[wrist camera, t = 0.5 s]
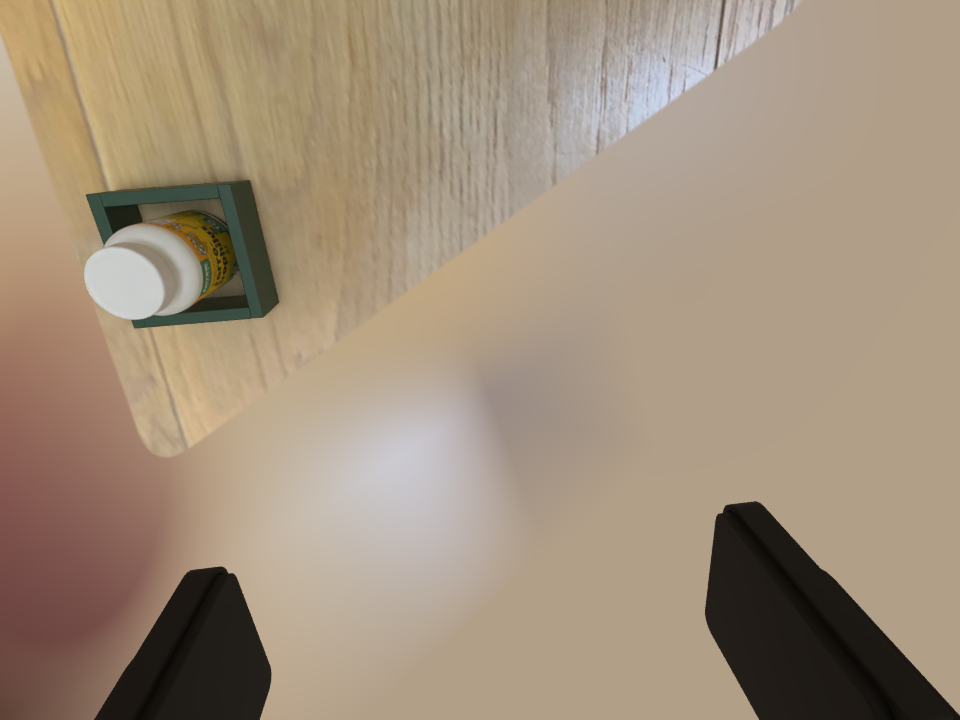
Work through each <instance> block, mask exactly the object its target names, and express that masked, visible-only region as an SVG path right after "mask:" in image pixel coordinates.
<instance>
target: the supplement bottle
mask: <svg viewBox="0 0 960 720" xmlns="http://www.w3.org/2000/svg"><path fill="white" fill-rule="evenodd" d="M238 268H239V267H238V263H237V260H236V256H235V252H234V248H233V244H232V241H231V237H230V233H229V229H228V227H227V226H226V225H225V224H224V223H223V222H221V221H220V220H219V219H217V218H216V217H214V216H212V215H210V214H208V213H205V212H201V211H183V212H179V213H175V214H172V215H168V216H164V217H160V218H157V219H153V220H149V221H146V222H142V223H138V224H134V225H131V226H128V227H125V228H122V229H120V230H119V231H117V232H116V233H114V234H113V235H112V236H111V237H110V238H109V239H108V241H107V242H106V244H105V246H104V248H102V249H100V250H98V251H97V252H95V253H94V254H93V255H92V256H91V257H90V258H89V259H88V261H87V263H86V265H85V269H84V280H85V284H86V287H87V290H88V292H89V294H90V295H91V297H92V298H93V299H94V301H95V302H96V303H97V304H98V305H99V306H100V307H102V308H103V309H104V310H106V311H107V312H109V313H111V314H113V315H115V316H117V317H120V318H124V319H130V320H139V319H144V318H147V317H150V316H152V315H158V316H165V315H172V314H176V313H179V312H181V311H183V310H185V309H187V308H189V307H190V306H192V305H193V304H195V303H196V302H198V301H199V300H201V299H202V298H204V297H206V296H207V295H209V294H210V293H212V292H213V291H215V290H216V289H218V288H219V287H221V286H222V285H224V284H225V283H227V282H228V281H229V280H230V279H232V277H233V276H234V275H235V274H236V272H237V270H238Z"/></svg>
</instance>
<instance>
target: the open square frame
mask: <svg viewBox="0 0 960 720" xmlns="http://www.w3.org/2000/svg"><path fill="white" fill-rule="evenodd" d="M86 197H87V200H88V202H89V205H90V208H91V211H92V213H93V216H94V219H95V222H96V224H97V227H98V230H99V233H100V235H101V238H102V241H103V244H104V246H105V244H106V242H107V241H108V239H109V238H110V237H111V236H112V235H113V234H114V233H116V232H117V231H119V230H120V229H122V228H125V227H128V226H131V225H134V224H138V223H142V220H141V217H140V214H139V211H138V207H137V205H138V204H151V203H164V202H177V201H190V200H203V199H216V198H220V199H221V203H222V206H223V210H224V214H225V218H226V222H227V225H228V229H229V233H230V237H231V241H232V244H233V248H234V252H235V256H236V260H237V263H238V267H239V271H240V275H241V278H242V282H243V286H244V290H245V294H246V295H243V296H231V297H219V298H207V299H201V300H199V301H198V302H196V303H195V304H193V305H192V306H190V307H189V308H187V309H185V310H183V311H181V312H179V313H176V314H172V315H165V316H158V315H152V316H150V317H147V318H144V319H139V320H132V323H133V326H134V328H146V327H158V326H170V325H181V324H193V323H205V322H216V321H228V320H239V319H251V318H262V317H264V316H265V315H266V314H267V313H269V312H270V311H271V310H272V309H273V308H274V307H275V306H276V305H277V304H278V303H279V301H278V297H277V292H276V288H275V284H274V280H273V276H272V271H271V267H270V263H269V259H268V255H267V250H266V246H265V242H264V238H263V234H262V229H261V225H260V221H259V217H258V213H257V208H256V204H255V200H254V196H253V192H252V187H251V183H250V180H245V181H232V182H219V183H206V184H193V185H180V186H167V187H154V188H140V189H127V190H117V191H109V192H101V193H94V194H87V195H86Z"/></svg>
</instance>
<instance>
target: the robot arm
mask: <svg viewBox="0 0 960 720" xmlns="http://www.w3.org/2000/svg"><path fill="white" fill-rule="evenodd" d="M705 616H706V621H707V625H708V628H709V630H710V632H711V634H712V636H713V638H714V639H715V641H716V643H717V645H718V647H719V648H720V650H721V652H722V654H723V656H724V657H725V659H726V661H727V663H728V665H729V666H730V668H731V670H732V672H733V673H734V675H735V677H736V679H737V681H738V682H739V684H740V686H741V688H742V689H743V691H744V693H745V695H746V697H747V699H748V700H749V702H750V704H751V706H752V707H753V709H754V711H755V713H756V715H757V717H758V718H759V720H960V715H959V714H958V713H957V712H956V711H955V710H954V709H953V708H952V707H951V706H950V705H949V703H948V702H947V701H946V700H945V699H944V698H943V697H942V696H941V695H940V694H939V693H938V691H937V690H936V689H935V688H934V687H933V686H932V685H931V684H930V683H929V682H928V681H927V679H926V678H925V677H924V676H923V675H922V674H921V673H920V672H919V671H918V670H917V669H916V667H915V666H914V665H913V664H912V663H911V662H910V661H909V660H908V659H907V658H906V657H905V655H904V654H903V653H902V652H901V651H900V650H899V649H898V648H897V647H896V646H895V645H894V643H893V642H892V641H891V640H890V639H889V638H888V637H887V636H886V635H885V634H884V633H883V631H882V630H881V629H880V628H879V627H878V626H877V625H876V624H875V623H874V622H873V621H872V620H871V618H870V617H869V616H868V615H867V614H866V613H865V612H864V611H863V610H862V609H861V608H860V606H858V604H857V603H856V602H855V601H854V600H853V599H852V598H851V597H850V596H849V594H848V593H847V592H846V591H845V590H844V589H843V588H842V587H841V586H840V585H839V584H838V582H837V581H836V580H835V579H834V578H833V577H832V576H830V575H829V574H828V573H827V572H826V571H824V570H822V569H820V568H819V566H818V565H816V563H815V562H814V561H813V560H812V559H811V558H810V557H809V556H808V554H807V553H806V552H805V551H804V550H803V549H802V548H801V547H800V545H799V544H798V543H797V542H796V541H795V540H794V539H793V538H792V537H791V536H790V534H789V533H788V532H787V531H786V530H785V529H784V528H783V527H782V526H781V525H780V523H779V522H778V521H777V520H776V519H775V518H774V517H773V516H772V515H771V514H770V512H769V511H767V509H766V508H765V507H764V506H763V505H762V504H761V503H759V502H756V501H755V502H747V503H738V504H730V505H726V506H725V508H724V510H723V513H721V514H718V515H717V517H716V521H715V530H714V539H713V547H712V556H711V564H710V573H709V581H708V590H707V599H706V607H705ZM270 684H271V667H270V664H269V662H268V659H267V656H266V654H265V651H264V648H263V646H262V643H261V640H260V638H259V635H258V632H257V630H256V627H255V624H254V622H253V619H252V617H251V614H250V611H249V609H248V606H247V603H246V601H245V598H244V595H243V593H242V590H241V588H240V585H239V582H238V580H237V577H236V576H235V575H234V574H233V573H230V574H228V572H227V570H226V569H225V568H224V567H213V568H205V569H196V570H190V571H189V572H187V573H186V575H185V576H184V577H183V579H182V580H181V582H180V584H179V585H178V587H177V588H176V590H175V592H174V593H173V595H172V597H171V598H170V600H169V601H168V603H167V605H166V606H165V608H164V610H163V611H162V613H161V615H160V616H159V618H158V619H157V621H156V623H155V625H154V626H153V628H152V629H151V631H150V633H149V634H148V636H147V638H146V639H145V641H144V642H143V644H142V646H141V647H140V649H139V650H138V652H137V654H136V656H135V657H134V659H133V660H132V661H131V662H130V664H129V665H128V666H127V668H126V669H125V671H124V672H123V674H122V675H121V677H120V679H119V680H118V682H117V683H116V685H115V687H114V688H113V690H112V692H111V693H110V695H109V697H108V698H107V700H106V701H105V703H104V705H103V706H102V708H101V710H100V711H99V713H98V714H97V716H96V718H95V719H94V720H260V717H261V714H262V711H263V707H264V704H265V701H266V698H267V695H268V692H269V689H270Z"/></svg>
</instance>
